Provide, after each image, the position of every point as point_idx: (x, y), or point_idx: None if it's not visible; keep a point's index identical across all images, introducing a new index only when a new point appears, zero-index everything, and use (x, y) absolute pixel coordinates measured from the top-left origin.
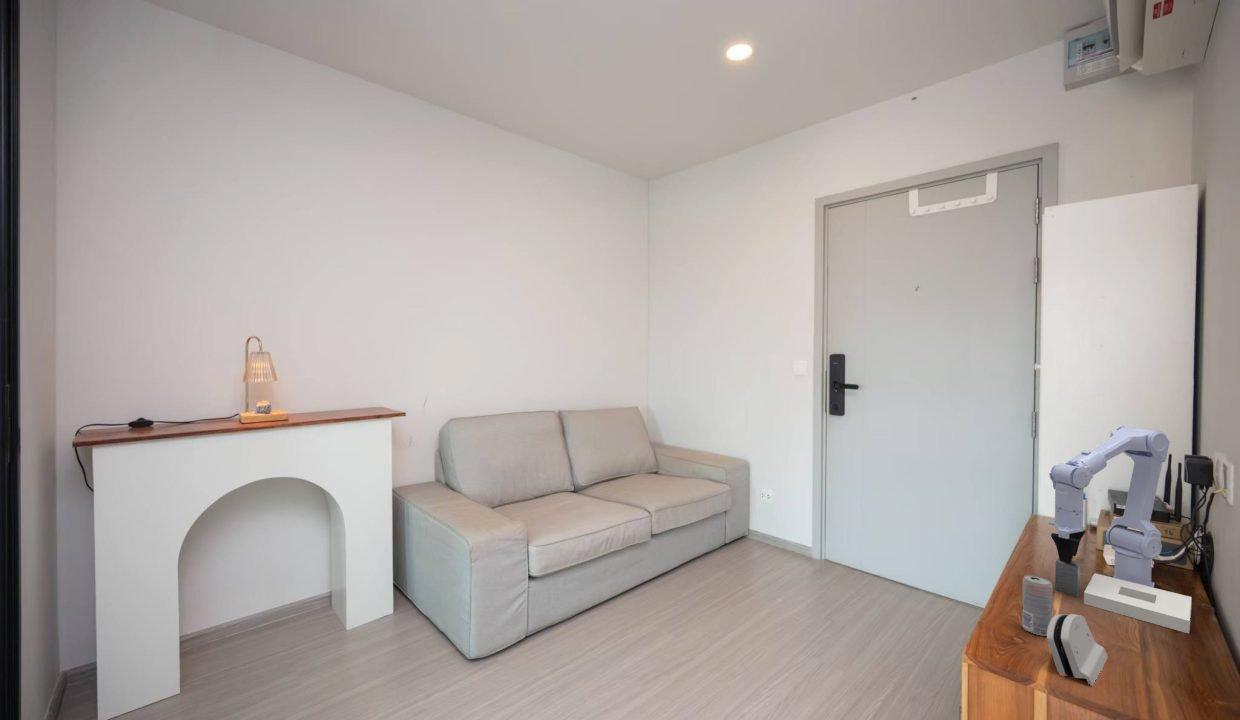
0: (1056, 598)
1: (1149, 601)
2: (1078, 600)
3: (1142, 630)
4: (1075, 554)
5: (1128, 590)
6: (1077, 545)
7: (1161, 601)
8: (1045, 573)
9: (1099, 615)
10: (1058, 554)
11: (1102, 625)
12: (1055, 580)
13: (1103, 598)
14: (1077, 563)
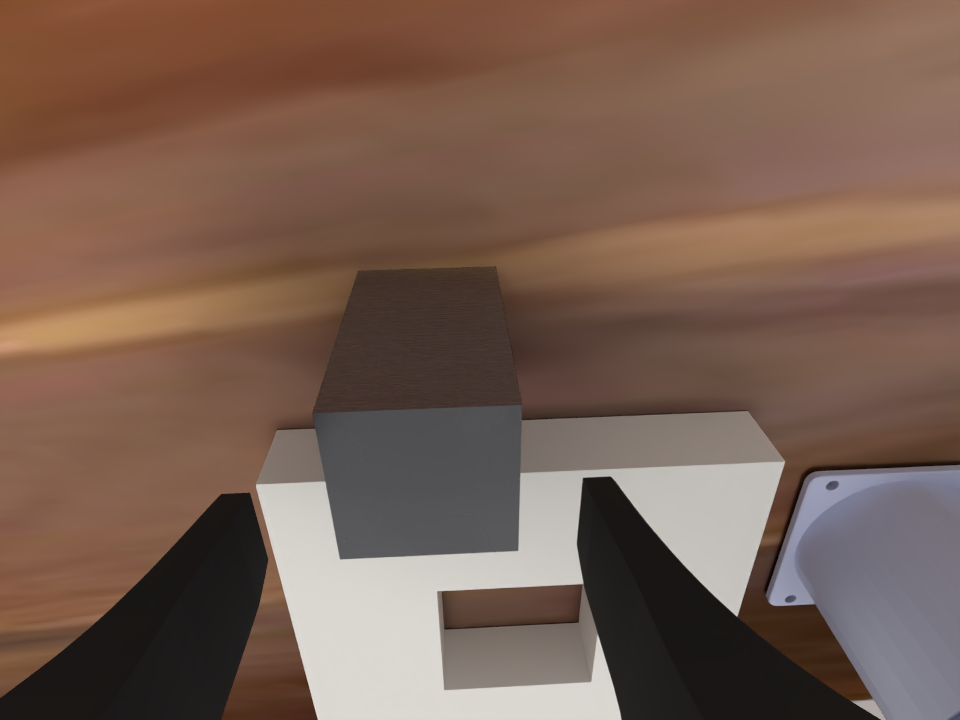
0: (198, 306)
1: (584, 623)
2: (310, 401)
3: None
4: (580, 565)
5: None
6: (613, 685)
7: (507, 699)
8: (752, 131)
9: (172, 502)
10: (173, 547)
11: (34, 529)
12: (347, 309)
13: (276, 555)
14: (465, 540)
